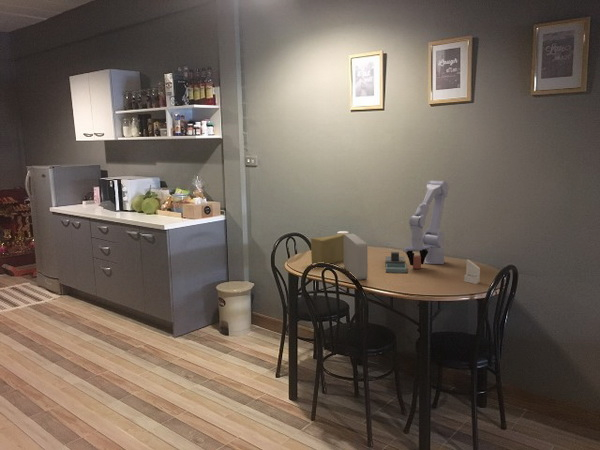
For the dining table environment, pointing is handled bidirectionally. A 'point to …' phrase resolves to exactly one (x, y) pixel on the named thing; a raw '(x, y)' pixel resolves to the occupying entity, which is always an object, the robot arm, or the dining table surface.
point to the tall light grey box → (355, 256)
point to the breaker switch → (394, 256)
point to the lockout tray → (396, 268)
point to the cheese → (327, 249)
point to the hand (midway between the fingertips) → (416, 264)
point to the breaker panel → (388, 261)
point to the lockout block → (417, 262)
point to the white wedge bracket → (472, 273)
